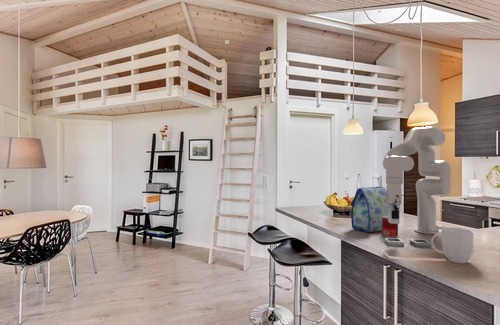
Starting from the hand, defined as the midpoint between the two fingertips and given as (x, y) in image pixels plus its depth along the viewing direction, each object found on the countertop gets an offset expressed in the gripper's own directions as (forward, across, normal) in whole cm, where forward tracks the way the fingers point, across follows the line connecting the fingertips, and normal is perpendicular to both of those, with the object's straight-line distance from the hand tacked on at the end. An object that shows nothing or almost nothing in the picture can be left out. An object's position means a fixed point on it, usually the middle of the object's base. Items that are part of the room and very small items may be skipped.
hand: (393, 217), depth 147 cm
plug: (+3, 0, 0) cm, 3 cm away
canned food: (+14, -21, +4) cm, 25 cm away
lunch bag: (+14, -38, -2) cm, 40 cm away
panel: (+14, -1, +6) cm, 15 cm away
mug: (+14, +18, +18) cm, 30 cm away
